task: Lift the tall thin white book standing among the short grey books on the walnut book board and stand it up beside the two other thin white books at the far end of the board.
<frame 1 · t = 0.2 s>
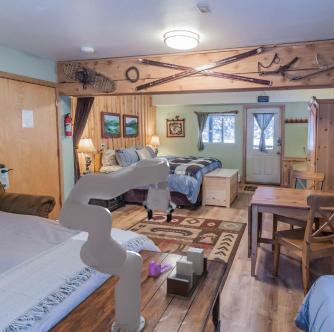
hand: (159, 220, 127), 37 cm above the table, tool pointing down, fingers open, 9 cm apart
bracket: (161, 271, 151), on the table
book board: (188, 283, 141), on the table
white books: (195, 272, 149), resting on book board
grey books: (182, 288, 134), resting on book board
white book: (184, 286, 136), point 1 cm above the table, touching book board
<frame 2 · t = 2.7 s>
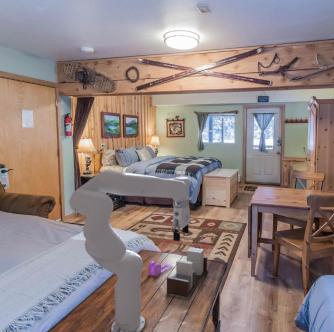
hand: (181, 236, 132), 27 cm above the table, tool pointing down, fingers open, 9 cm apart
nothing on the table moved.
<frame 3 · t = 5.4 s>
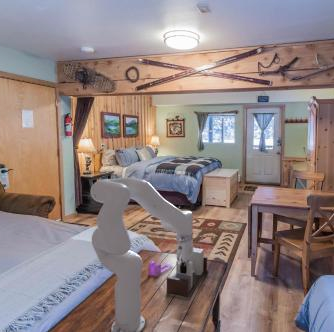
hand: (184, 271, 135), 9 cm above the table, tool pointing down, fingers closed on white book, 2 cm apart
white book: (184, 286, 136), point 1 cm above the table, touching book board, gripper
everything else where it was.
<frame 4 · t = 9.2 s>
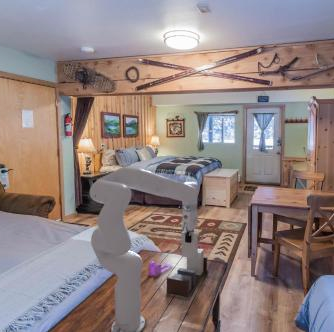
hand: (189, 241, 138), 23 cm above the table, tool pointing down, fingers closed on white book
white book: (189, 256, 139), point 14 cm above the table, touching gripper
everything else where it was.
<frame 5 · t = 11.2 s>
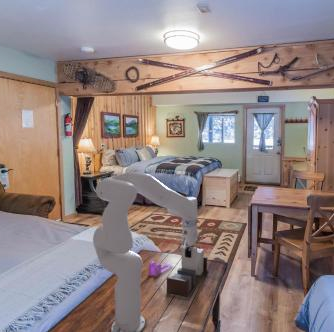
hand: (189, 255, 139), 15 cm above the table, tool pointing down, fingers closed on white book
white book: (189, 271, 140), point 6 cm above the table, touching gripper
everything else where it was.
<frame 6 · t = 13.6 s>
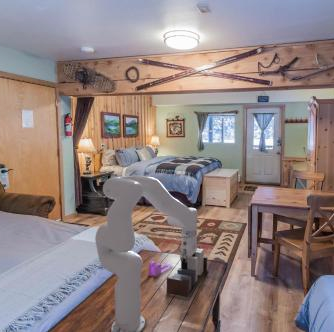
hand: (188, 264, 139), 10 cm above the table, tool pointing down, fingers open, 9 cm apart
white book: (189, 280, 141), point 1 cm above the table, touching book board
everything else where it was.
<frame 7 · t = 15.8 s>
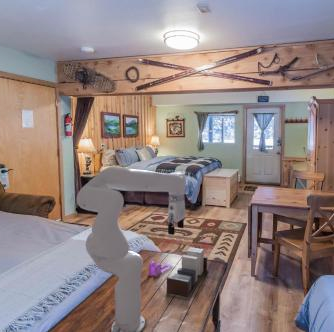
hand: (176, 230, 135), 29 cm above the table, tool pointing down, fingers open, 9 cm apart
nothing on the table moved.
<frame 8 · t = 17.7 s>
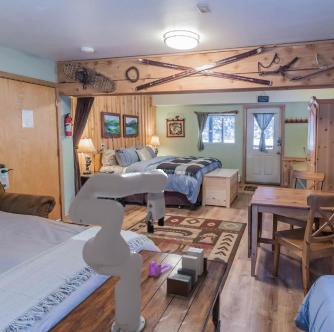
hand: (155, 229, 132), 30 cm above the table, tool pointing down, fingers open, 9 cm apart
nothing on the table moved.
at the end: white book 0.3 cm from the target spot, point 1.2 cm above the table; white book tilted 0°; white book 8.4 cm from the white books (horizontally) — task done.
